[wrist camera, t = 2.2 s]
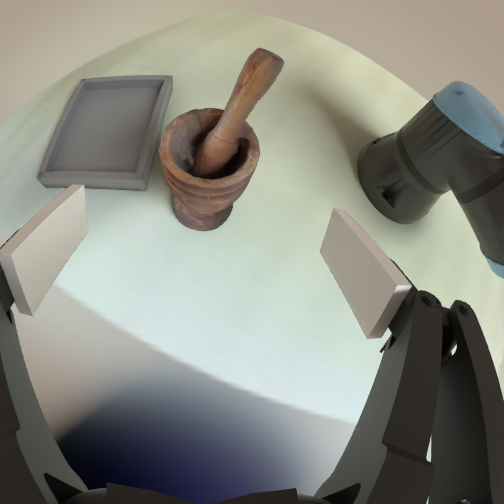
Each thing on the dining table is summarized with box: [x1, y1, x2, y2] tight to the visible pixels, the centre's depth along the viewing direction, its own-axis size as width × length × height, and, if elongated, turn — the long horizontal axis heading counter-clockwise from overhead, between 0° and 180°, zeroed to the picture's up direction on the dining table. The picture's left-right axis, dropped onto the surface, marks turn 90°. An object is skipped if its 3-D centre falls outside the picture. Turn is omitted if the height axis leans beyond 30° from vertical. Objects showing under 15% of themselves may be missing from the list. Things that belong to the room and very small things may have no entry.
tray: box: [37, 75, 173, 191], centre depth 33 cm, size 16×19×3 cm
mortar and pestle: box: [159, 48, 284, 231], centre depth 25 cm, size 12×9×20 cm
